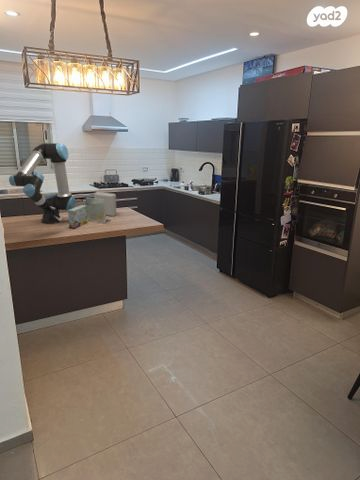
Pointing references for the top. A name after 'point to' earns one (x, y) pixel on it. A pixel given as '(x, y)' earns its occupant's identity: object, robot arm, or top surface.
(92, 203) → the frosted plastic container
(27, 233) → the top surface
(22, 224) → the top surface
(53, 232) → the top surface
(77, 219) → the snack box
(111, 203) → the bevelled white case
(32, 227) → the top surface
